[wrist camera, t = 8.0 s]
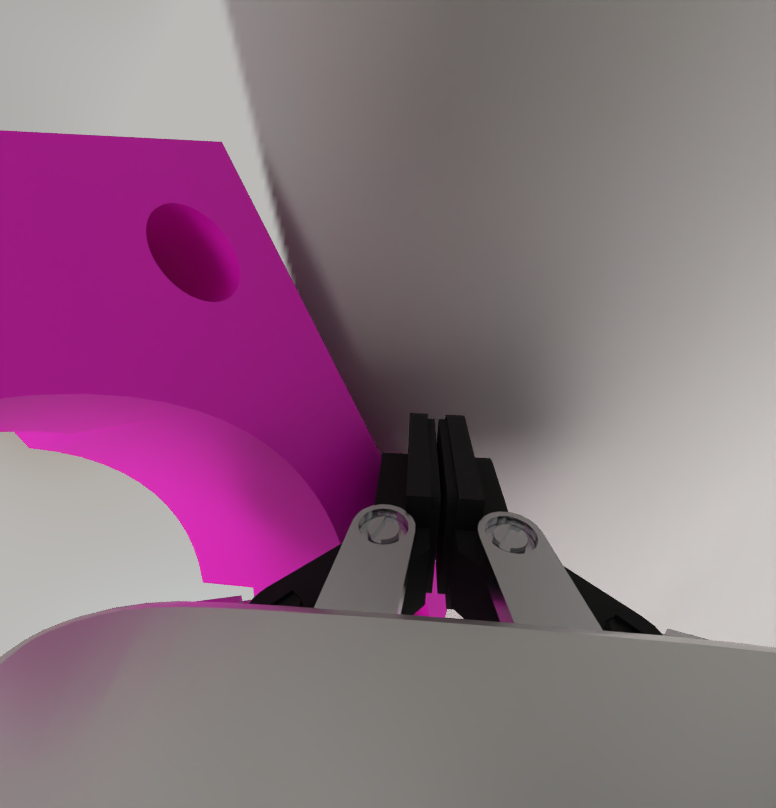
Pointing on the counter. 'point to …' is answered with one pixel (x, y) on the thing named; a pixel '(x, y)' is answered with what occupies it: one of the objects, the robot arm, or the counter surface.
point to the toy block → (176, 349)
